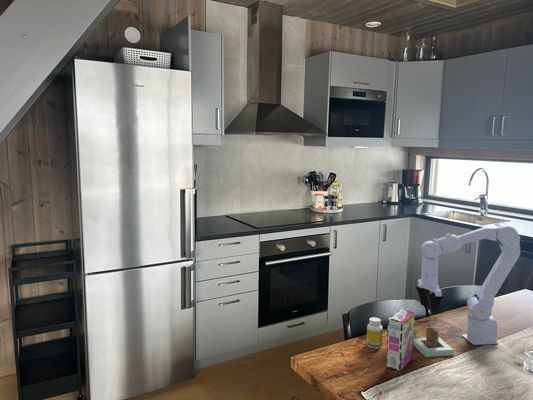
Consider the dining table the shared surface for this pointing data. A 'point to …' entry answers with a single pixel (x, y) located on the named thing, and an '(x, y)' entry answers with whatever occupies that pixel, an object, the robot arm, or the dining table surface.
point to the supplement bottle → (374, 333)
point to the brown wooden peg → (432, 338)
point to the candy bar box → (400, 339)
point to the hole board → (429, 352)
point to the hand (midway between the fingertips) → (428, 308)
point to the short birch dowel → (415, 333)
